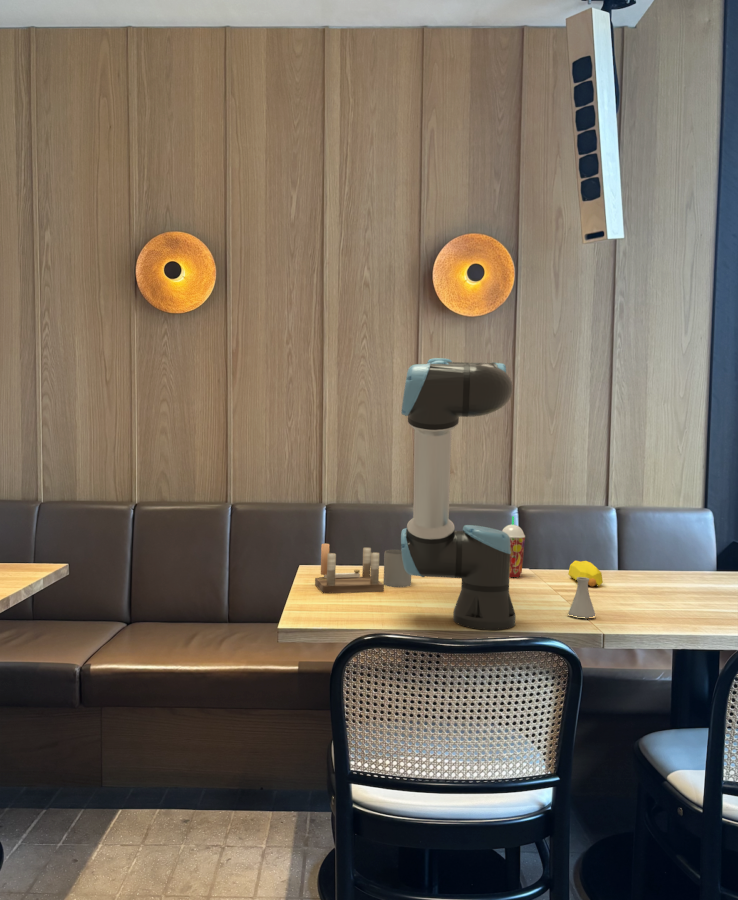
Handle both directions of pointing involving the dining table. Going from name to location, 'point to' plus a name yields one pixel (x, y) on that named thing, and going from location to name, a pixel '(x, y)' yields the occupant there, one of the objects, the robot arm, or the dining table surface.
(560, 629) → the dining table surface
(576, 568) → the yellow lumpy oval
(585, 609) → the flask
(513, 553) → the smoothie
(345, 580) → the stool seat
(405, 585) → the cup
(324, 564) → the crank handle
